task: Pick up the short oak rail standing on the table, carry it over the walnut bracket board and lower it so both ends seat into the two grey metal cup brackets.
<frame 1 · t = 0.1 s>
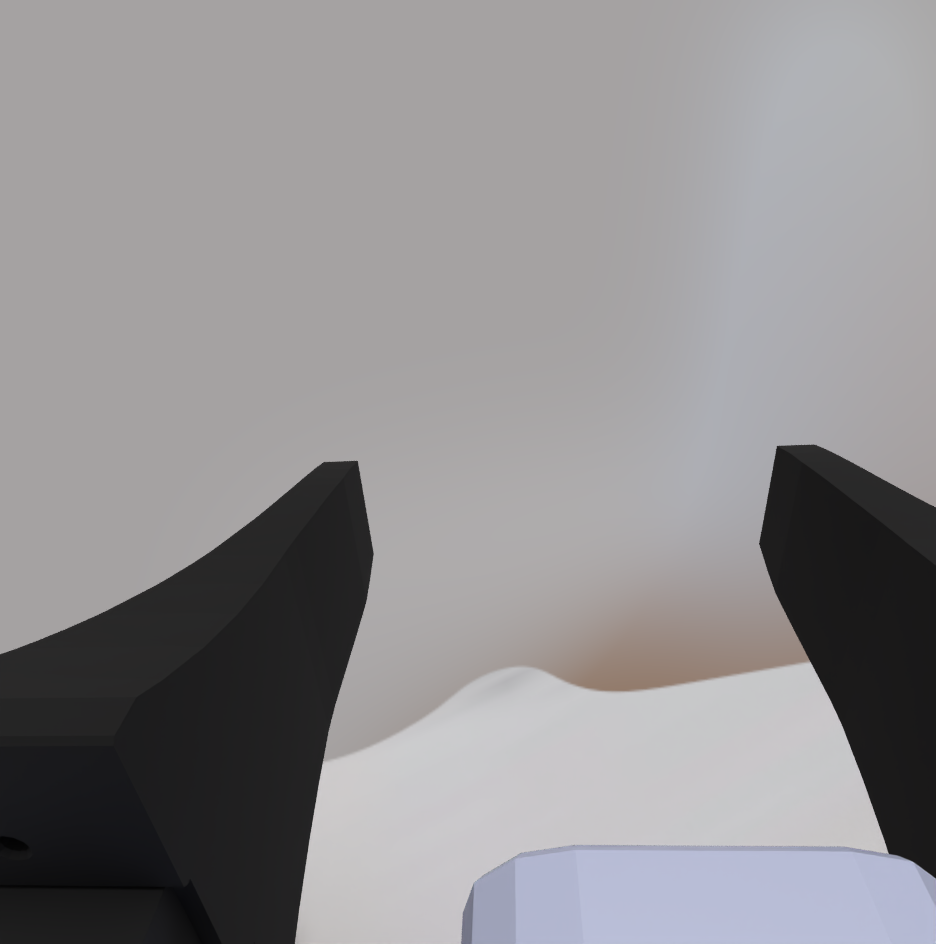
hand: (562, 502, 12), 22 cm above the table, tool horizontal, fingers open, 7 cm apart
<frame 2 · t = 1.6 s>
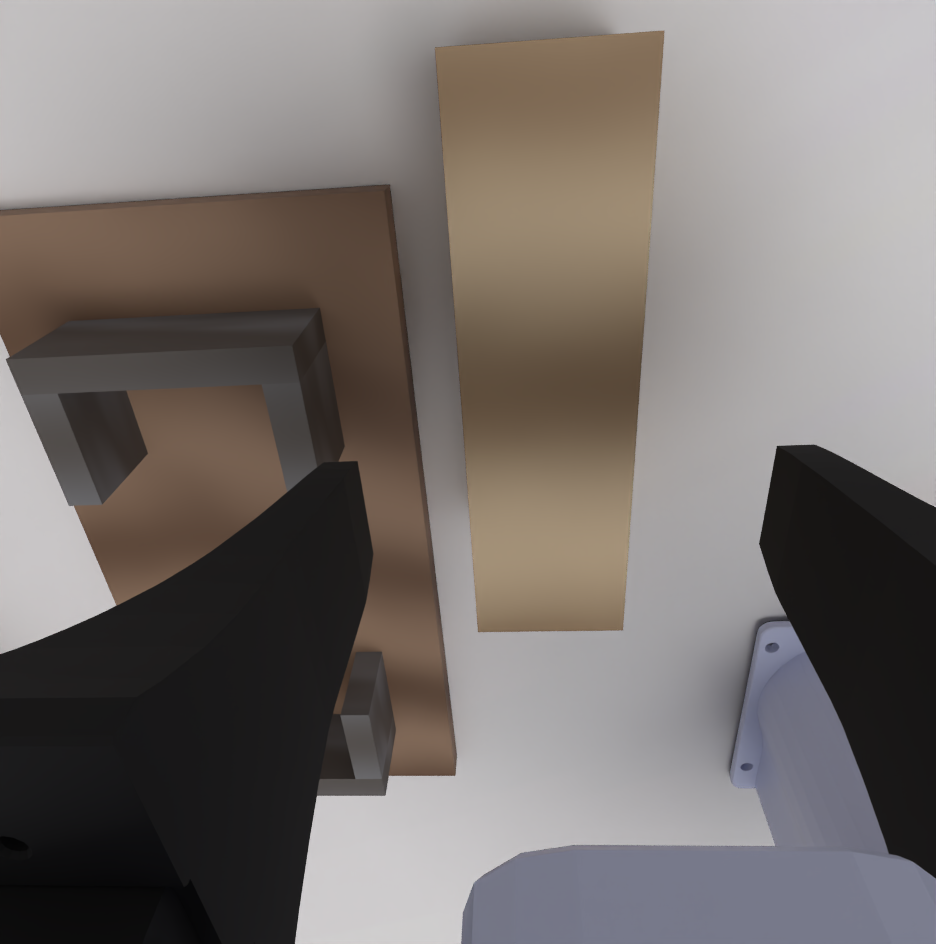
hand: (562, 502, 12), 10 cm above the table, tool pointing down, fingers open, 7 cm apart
rail: (538, 316, 21), on the table
bracket board: (269, 544, 26), on the table
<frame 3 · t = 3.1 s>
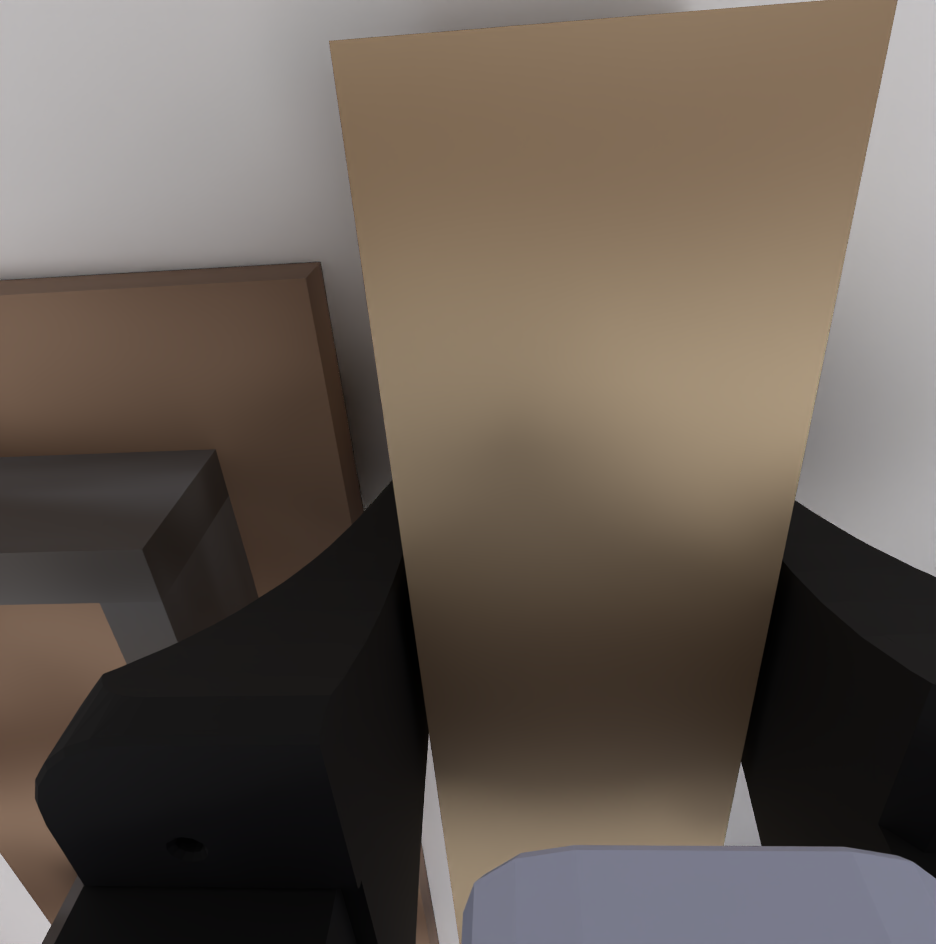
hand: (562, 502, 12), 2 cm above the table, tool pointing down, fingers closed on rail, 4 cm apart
rail: (556, 456, 14), on the table, touching gripper
bracket board: (177, 732, 18), on the table
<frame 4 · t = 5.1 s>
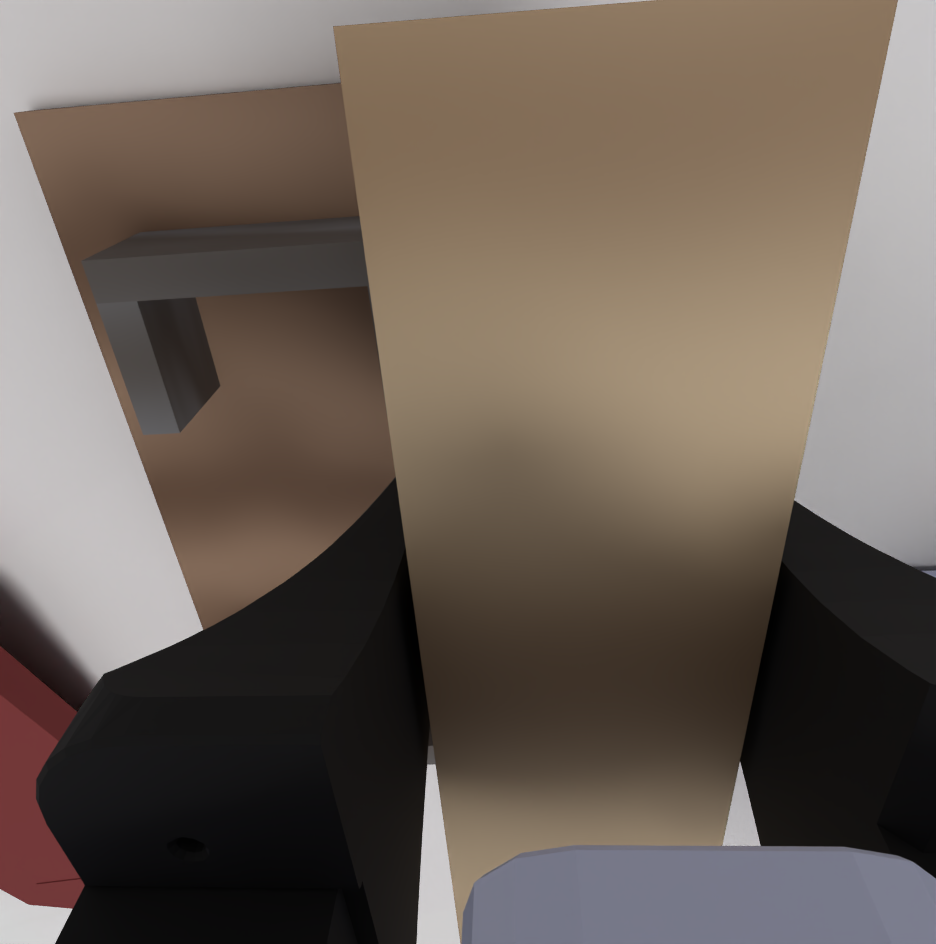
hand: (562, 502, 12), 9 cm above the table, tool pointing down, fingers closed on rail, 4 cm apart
rail: (556, 450, 14), point 8 cm above the table, touching gripper
red long flat piece: (18, 719, 32), on the table
bracket board: (343, 491, 24), on the table
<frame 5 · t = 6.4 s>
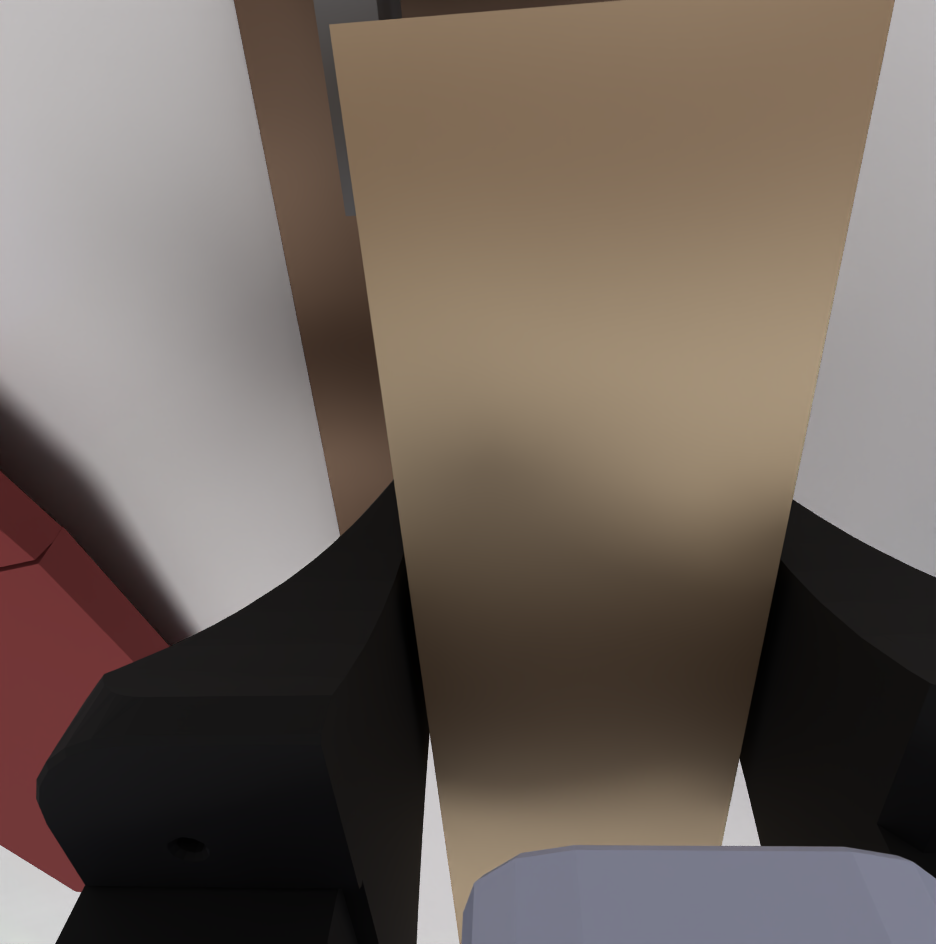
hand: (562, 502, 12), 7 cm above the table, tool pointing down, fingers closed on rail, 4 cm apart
rail: (556, 450, 14), point 5 cm above the table, touching gripper
red long flat piece: (76, 662, 26), on the table
bracket board: (545, 357, 18), on the table
when the fingers open (4 cm above the table, at t = 7.4 s): rail drops 1 cm, resting on bracket board.
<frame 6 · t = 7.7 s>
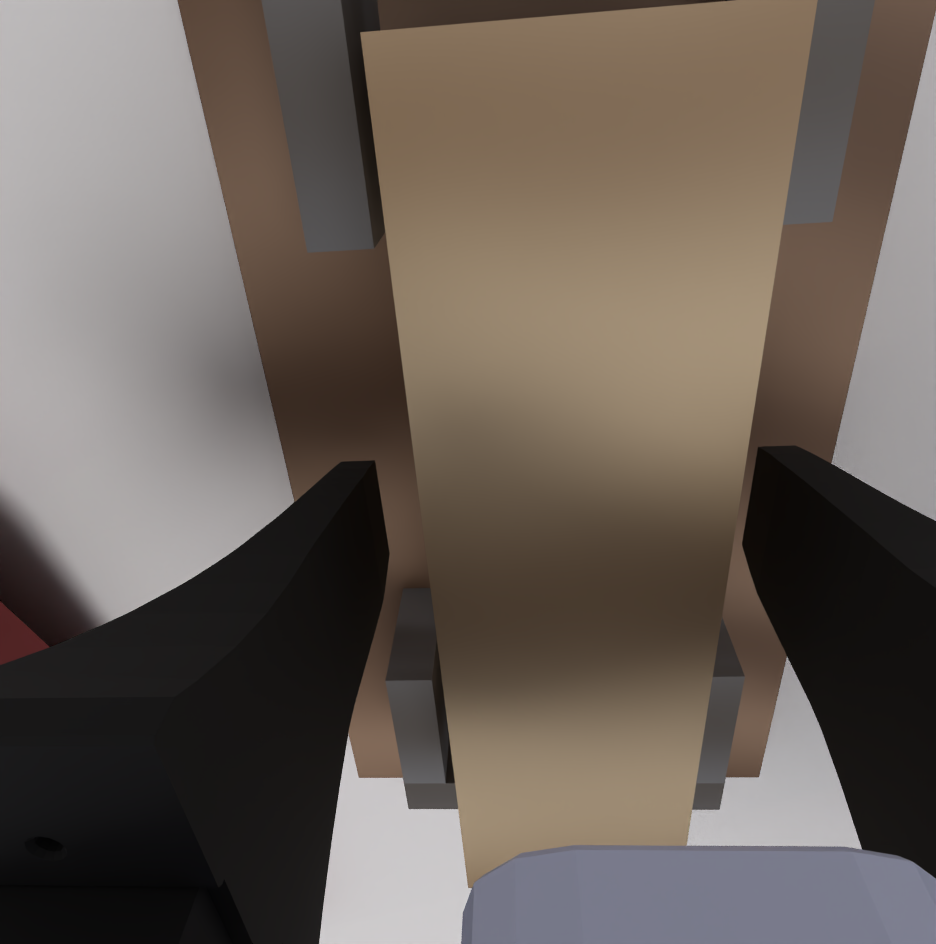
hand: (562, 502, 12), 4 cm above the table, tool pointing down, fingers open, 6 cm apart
rail: (551, 419, 15), point 1 cm above the table, touching bracket board
red long flat piece: (22, 713, 23), on the table
bracket board: (549, 402, 16), on the table
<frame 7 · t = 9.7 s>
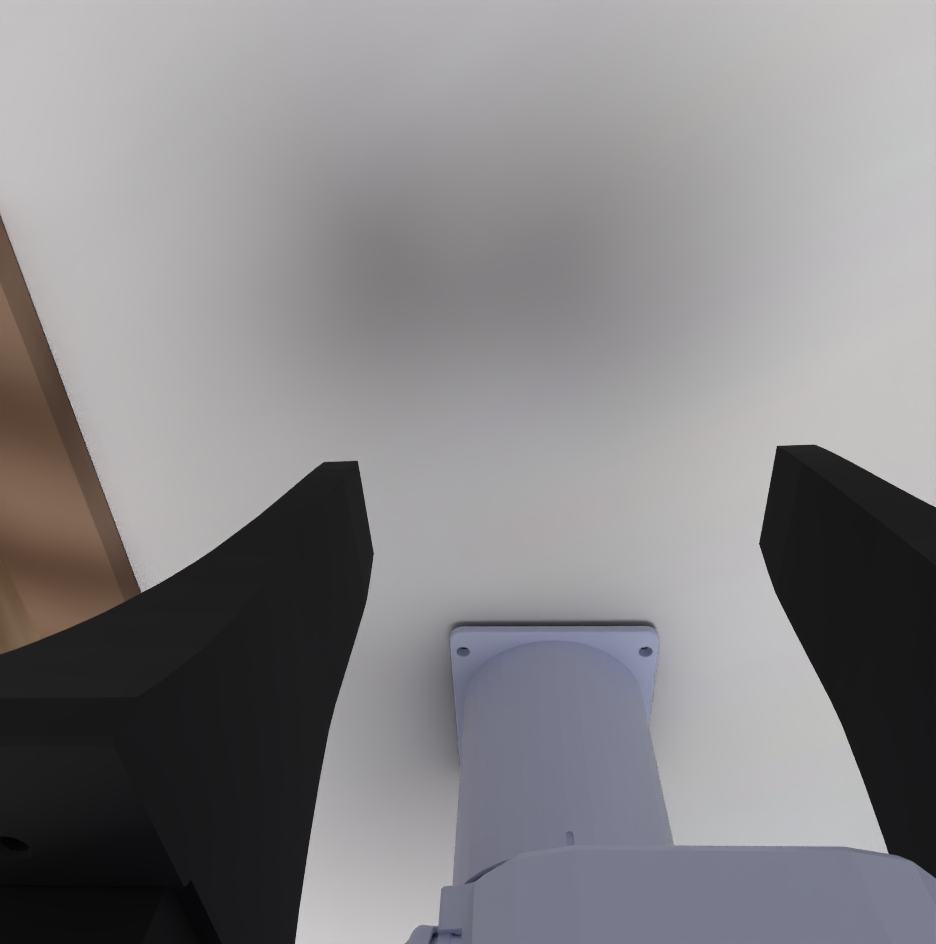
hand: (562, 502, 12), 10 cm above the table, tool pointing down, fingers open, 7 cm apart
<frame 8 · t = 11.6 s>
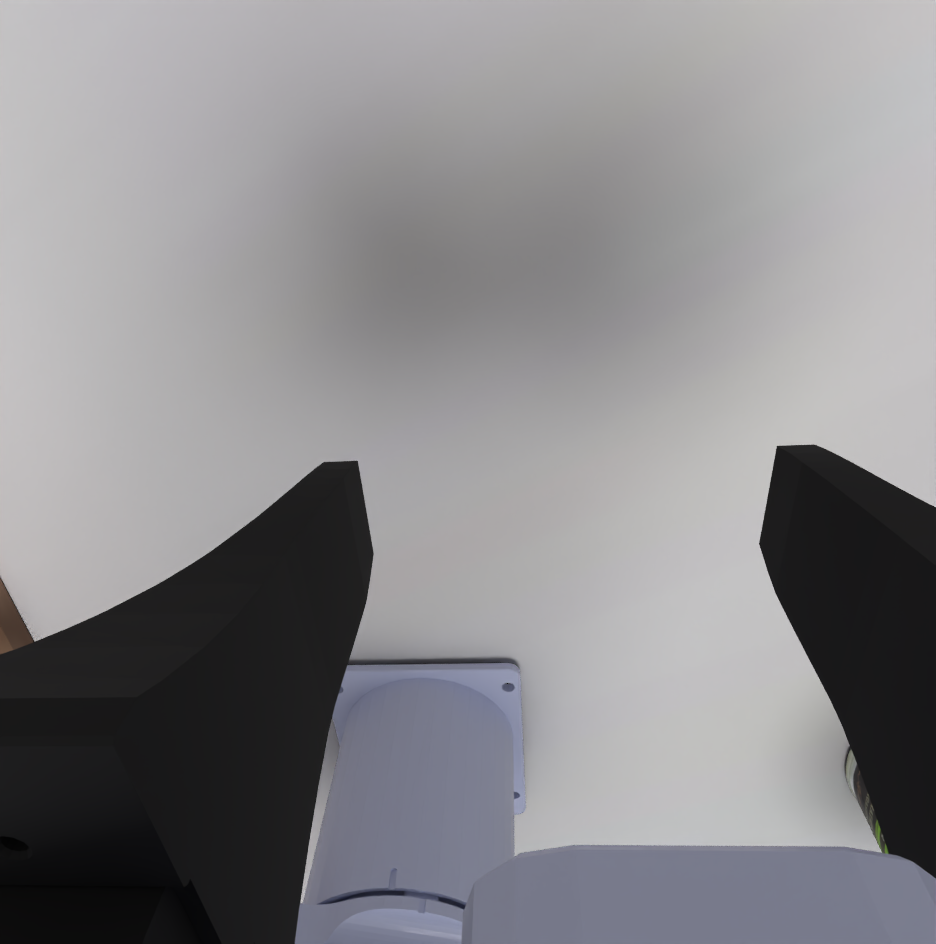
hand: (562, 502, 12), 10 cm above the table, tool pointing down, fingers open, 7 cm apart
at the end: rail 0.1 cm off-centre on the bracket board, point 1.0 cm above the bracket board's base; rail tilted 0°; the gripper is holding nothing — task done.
